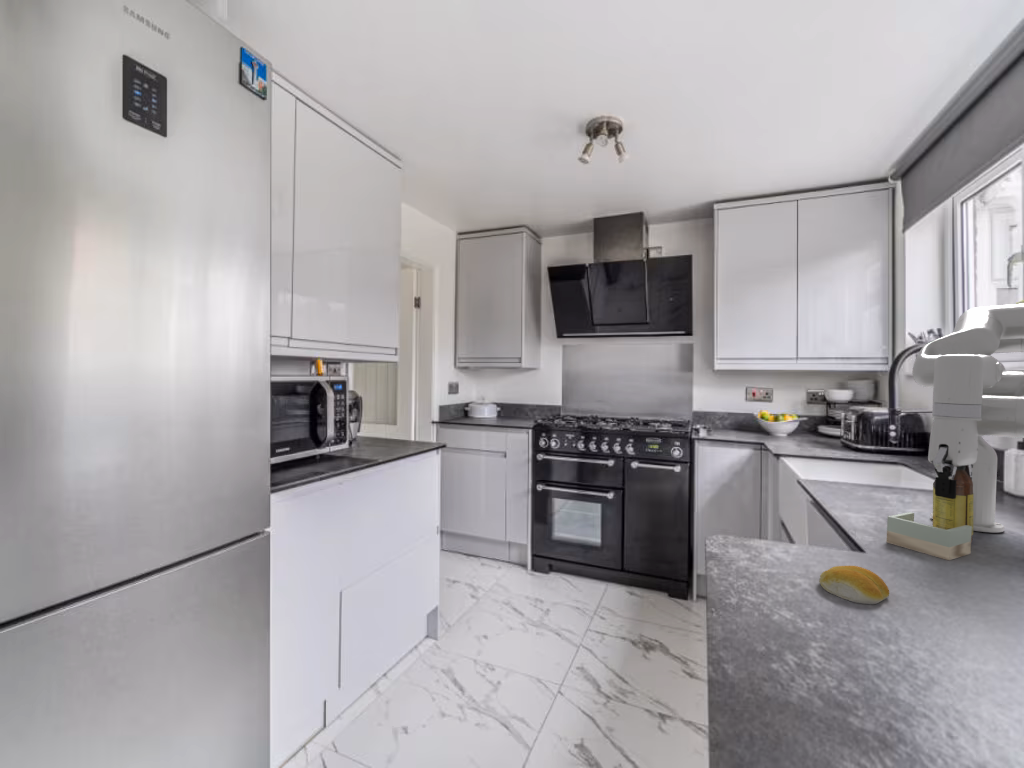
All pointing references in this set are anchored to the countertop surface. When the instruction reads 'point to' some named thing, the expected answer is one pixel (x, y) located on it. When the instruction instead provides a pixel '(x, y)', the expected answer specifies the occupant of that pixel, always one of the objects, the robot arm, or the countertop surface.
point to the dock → (928, 537)
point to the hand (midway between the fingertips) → (953, 494)
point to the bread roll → (854, 584)
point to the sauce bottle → (955, 504)
